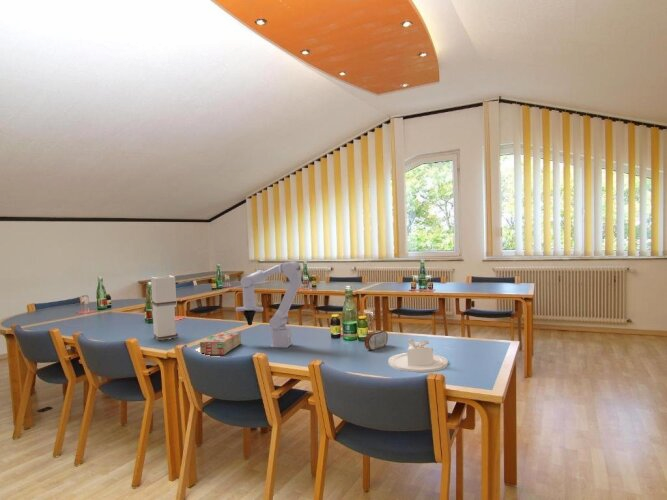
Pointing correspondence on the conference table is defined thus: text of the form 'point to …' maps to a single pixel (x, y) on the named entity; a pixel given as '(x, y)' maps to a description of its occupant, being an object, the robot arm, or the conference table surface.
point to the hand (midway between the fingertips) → (250, 324)
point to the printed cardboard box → (220, 343)
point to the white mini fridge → (164, 307)
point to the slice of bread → (376, 339)
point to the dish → (418, 358)
